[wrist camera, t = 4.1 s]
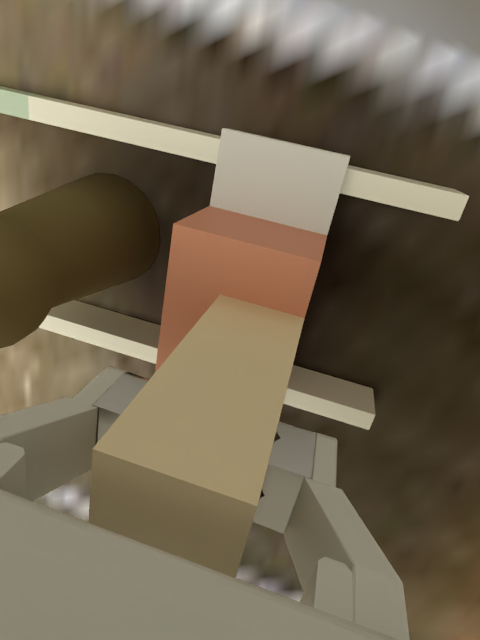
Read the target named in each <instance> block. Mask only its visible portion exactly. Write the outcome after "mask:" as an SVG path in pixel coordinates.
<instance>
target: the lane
mask: <svg viewBox="0 0 480 640" xmlns="http://www.w3.org/2000/svg"><path fill="white" fill-rule="evenodd" d="M0 113H3V114H7V115H12V116H16V117H20V118H24V119H28V120H33V121H37V122H41V123H45V124H50V125H54V126H58V127H62V128H66V129H71V130H75V131H79V132H83V133H88V134H92V135H96V136H100V137H104V138H109V139H113V140H117V141H121V142H126V143H130V144H134V145H138V146H143V147H147V148H151V149H155V150H159V151H164V152H168V153H172V154H176V155H181V156H185V157H189V158H193V159H197V160H202V161H206V162H210V163H214V164H216V163H217V157H218V151H219V144H220V138H221V136H219V135H214V134H210V133H205V132H201V131H197V130H192V129H188V128H183V127H179V126H175V125H170V124H166V123H161V122H157V121H153V120H148V119H144V118H139V117H135V116H131V115H126V114H122V113H117V112H113V111H109V110H104V109H100V108H95V107H91V106H87V105H82V104H78V103H73V102H69V101H64V100H60V99H56V98H51V97H47V96H42V95H38V94H34V93H29V92H25V91H20V90H16V89H12V88H7V87H3V86H0ZM340 193H341V194H345V195H349V196H354V197H358V198H362V199H366V200H371V201H375V202H379V203H383V204H388V205H392V206H396V207H400V208H404V209H409V210H413V211H417V212H421V213H426V214H430V215H434V216H438V217H442V218H447V219H451V220H455V221H459V219H460V217H461V215H462V212H463V210H464V208H465V205H466V203H467V201H468V198H469V196H468V195H466V194H464V193H462V192H460V191H458V190H456V189H452V188H448V187H443V186H439V185H435V184H430V183H426V182H421V181H417V180H413V179H408V178H404V177H399V176H395V175H391V174H386V173H382V172H377V171H373V170H368V169H364V168H360V167H355V166H351V165H348V166H347V170H346V173H345V177H344V180H343V183H342V187H341V190H340ZM160 327H161V325H157V324H154V323H151V322H147V321H144V320H140V319H137V318H134V317H130V316H127V315H124V314H120V313H117V312H113V311H110V310H107V309H103V308H100V307H97V306H93V305H90V304H87V303H83V302H80V301H76V300H73V301H70V302H67V303H64V304H62V305H59V306H56V307H53V308H51V310H50V312H49V313H48V315H47V317H46V318H45V320H44V321H43V322H42V324H41V325H40V326H39V328H42V329H45V330H48V331H51V332H55V333H58V334H61V335H64V336H68V337H71V338H74V339H77V340H80V341H84V342H87V343H90V344H93V345H97V346H100V347H103V348H106V349H109V350H113V351H116V352H119V353H122V354H126V355H129V356H132V357H135V358H138V359H142V360H145V361H148V362H151V363H155V364H156V360H157V352H158V343H159V335H160ZM283 404H287V405H290V406H293V407H296V408H299V409H303V410H306V411H309V412H312V413H316V414H319V415H322V416H325V417H328V418H332V419H335V420H338V421H341V422H345V423H348V424H351V425H354V426H357V427H361V428H364V429H367V430H369V429H370V426H371V424H372V422H373V419H374V417H375V405H374V394H373V388H370V387H366V386H363V385H359V384H356V383H353V382H349V381H346V380H343V379H339V378H336V377H332V376H329V375H326V374H322V373H319V372H316V371H312V370H309V369H306V368H302V367H299V366H295V365H293V366H292V370H291V374H290V378H289V382H288V386H287V390H286V394H285V398H284V402H283Z"/></svg>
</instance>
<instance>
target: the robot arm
mask: <svg viewBox="0 0 480 640" xmlns="http://www.w3.org/2000/svg"><path fill="white" fill-rule="evenodd" d="M149 380H150V379H147V378H144V377H141V376H138V375H136V374H133V373H130V372H126V371H123V370H120V369H117V368H114V367H111V366H110V367H106V368H105V369H104V370H102V371H101V372H100V373H99V374H98V375H97V376H96V377H95V378H94V379H93V380H92V381H91V382H90V383H88V384H87V385H86V386H85V387H84V388H83V389H82V390H81V391H80V392H79V393H78V394H77V395H76V396H74V397H73V398H72V399H71V398H68V397H65V398H62V399H58V400H54V401H51V402H47V403H43V404H40V405H36V406H32V407H29V408H25V409H22V410H18V411H14V412H11V413H7V414H3V415H0V640H410V639H409V631H408V622H407V614H406V605H405V597H404V588H403V583H402V581H401V580H400V578H399V576H398V575H397V573H396V572H395V570H394V569H393V567H392V566H391V564H390V563H389V561H388V560H387V558H386V557H385V555H384V553H383V552H382V550H381V549H380V547H379V546H378V544H377V543H376V541H375V540H374V538H373V537H372V535H371V533H370V532H369V530H368V529H367V527H366V526H365V524H364V523H363V521H362V520H361V518H360V517H359V515H358V514H357V512H356V510H355V509H354V507H353V506H352V504H351V503H350V501H349V500H348V498H347V497H346V495H345V494H344V492H343V490H342V489H339V488H336V470H337V442H338V441H337V439H336V438H333V437H330V436H326V435H323V434H320V433H314V432H311V431H308V430H304V429H301V428H298V427H295V426H292V425H289V424H285V423H282V422H278V426H277V430H276V434H275V438H274V442H273V446H272V450H271V454H270V458H269V462H268V466H267V470H266V474H265V478H264V482H263V486H262V490H261V494H260V498H259V502H258V506H257V509H256V512H255V516H254V519H253V522H255V523H257V524H260V525H262V526H265V527H268V528H270V529H273V530H275V531H278V532H280V533H283V534H284V538H285V541H286V544H287V547H288V550H289V552H290V555H291V558H292V561H293V564H294V567H295V569H296V572H297V575H298V578H299V581H300V584H301V586H302V589H303V592H304V593H303V596H302V598H301V600H300V602H297V601H295V600H292V599H290V598H287V597H284V596H282V595H279V594H276V593H274V592H271V591H268V590H266V589H263V588H261V587H258V586H255V585H253V584H250V583H247V582H245V581H242V580H239V579H237V578H234V577H231V576H229V575H226V574H224V573H221V572H218V571H216V570H213V569H210V568H208V567H205V566H202V565H200V564H197V563H194V562H192V561H189V560H187V559H184V558H181V557H179V556H176V555H173V554H171V553H168V552H165V551H163V550H160V549H157V548H155V547H152V546H149V545H147V544H144V543H142V542H139V541H136V540H134V539H131V538H128V537H126V536H123V535H120V534H118V533H115V532H112V531H110V530H107V529H104V528H102V527H99V526H96V525H94V524H91V523H88V522H86V521H83V520H81V519H78V518H75V517H73V516H70V515H67V514H65V513H62V512H59V511H57V510H54V509H51V508H49V507H46V506H43V505H41V504H38V503H35V502H33V501H34V500H36V499H37V498H39V497H41V496H43V495H45V494H47V493H49V492H50V491H52V490H54V489H56V488H58V487H60V486H62V485H64V484H65V483H67V482H69V481H71V480H73V479H75V478H77V477H78V476H80V475H82V474H84V473H86V472H88V471H90V470H91V466H92V449H93V447H94V446H95V445H96V444H97V443H98V441H99V440H100V439H101V438H102V437H103V435H104V434H105V433H106V432H107V430H108V429H109V428H110V427H111V426H112V424H113V423H114V422H115V421H116V420H117V418H118V417H119V416H120V415H121V414H122V412H123V411H124V410H125V409H126V408H127V406H128V405H129V404H130V403H131V401H132V400H133V399H134V398H135V397H136V395H137V394H138V393H139V392H140V391H141V389H142V388H143V387H144V386H145V385H146V383H147V382H148V381H149Z"/></svg>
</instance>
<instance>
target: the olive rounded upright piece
mask: <svg viewBox="0 0 480 640" xmlns="http://www.w3.org/2000/svg"><path fill="white" fill-rule="evenodd" d="M159 245H160V233H159V224H158V221H157V218H156V215H155V212H154V209H153V207H152V206H151V204H150V203H149V201H148V200H147V198H146V197H145V195H144V194H143V193H142V192H141V191H140V190H139V189H138V188H137V187H136V186H134V185H133V184H132V183H131V182H130V181H128V180H126V179H123V178H121V177H119V176H117V175H114V174H105V173H95V174H92V175H89V176H86V177H83V178H80V179H78V180H75V181H73V182H71V183H68V184H66V185H63V186H61V187H59V188H56V189H54V190H51V191H49V192H47V193H44V194H42V195H39V196H37V197H35V198H32V199H30V200H27V201H25V202H23V203H20V204H18V205H15V206H13V207H10V208H8V209H6V210H3V211H1V212H0V348H3V347H7V346H11V345H14V344H15V343H17V342H18V341H20V340H21V339H23V338H24V337H26V336H27V335H29V334H30V333H32V332H33V331H35V330H36V329H37V328H38V327H39V326H40V325H41V324H42V322H43V321H44V320H45V318H46V317H47V315H48V313H49V312H50V310H51V308H53V307H56V306H59V305H62V304H64V303H67V302H70V301H73V300H76V299H78V298H81V297H84V296H87V295H90V294H92V293H95V292H98V291H101V290H104V289H106V288H109V287H112V286H115V285H118V284H120V283H123V282H126V281H129V280H132V279H134V278H136V277H138V276H139V275H141V274H142V273H144V272H146V271H147V270H148V268H149V267H150V266H151V264H152V263H153V261H154V260H155V259H156V255H157V252H158V248H159Z"/></svg>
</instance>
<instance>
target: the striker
mask: <svg viewBox="0 0 480 640" xmlns="http://www.w3.org/2000/svg"><path fill="white" fill-rule="evenodd" d="M349 160H350V156H349V155H345V154H340V153H336V152H331V151H327V150H322V149H318V148H314V147H309V146H305V145H300V144H296V143H291V142H287V141H282V140H278V139H273V138H269V137H264V136H260V135H255V134H251V133H247V132H242V131H238V130H233V129H228V128H222V132H221V138H220V144H219V151H218V157H217V163H216V169H215V176H214V182H213V188H212V194H211V201H210V206H208V207H206V208H204V209H202V210H200V211H198V212H196V213H194V214H192V215H190V216H188V217H186V218H184V219H182V220H180V221H178V222H175V223H173V230H172V238H171V246H170V254H169V263H168V271H167V279H166V287H165V295H164V303H163V311H162V319H161V327H160V335H159V343H158V352H157V360H156V368H155V374H154V375H153V376H152V377H151V379H150V380H149V381H148V382H147V383H146V385H145V386H144V387H143V388H142V389H141V391H140V392H139V393H138V394H137V395H136V397H135V398H134V399H133V400H132V401H131V403H130V404H129V405H128V406H127V408H126V409H125V410H124V411H123V412H122V414H121V415H120V416H119V417H118V418H117V420H116V421H115V422H114V423H113V424H112V426H111V427H110V428H109V429H108V430H107V432H106V433H105V434H104V435H103V437H102V438H101V439H100V440H99V441H98V443H97V444H96V445H95V446H94V447H93V449H92V466H91V487H90V508H89V523H91V524H94V525H96V526H99V527H102V528H104V529H107V530H110V531H112V532H115V533H118V534H120V535H123V536H126V537H128V538H131V539H134V540H136V541H139V542H142V543H144V544H147V545H149V546H152V547H155V548H157V549H160V550H163V551H165V552H168V553H171V554H173V555H176V556H179V557H181V558H184V559H187V560H189V561H192V562H194V563H197V564H200V565H202V566H205V567H208V568H210V569H213V570H216V571H218V572H221V573H224V574H226V575H229V576H231V577H234V578H235V577H236V574H237V571H238V568H239V564H240V561H241V558H242V555H243V551H244V548H245V545H246V542H247V538H248V535H249V532H250V529H251V525H252V522H253V519H254V516H255V512H256V509H257V506H258V502H259V498H260V494H261V490H262V486H263V482H264V478H265V474H266V470H267V466H268V462H269V458H270V454H271V450H272V446H273V442H274V438H275V434H276V430H277V426H278V422H279V418H280V414H281V410H282V406H283V402H284V398H285V394H286V390H287V386H288V382H289V378H290V374H291V370H292V366H293V362H294V358H295V354H296V350H297V346H298V342H299V338H300V334H301V330H302V326H303V322H304V318H305V315H306V312H307V308H308V305H309V301H310V298H311V295H312V291H313V288H314V284H315V281H316V278H317V274H318V271H319V268H320V264H321V260H322V256H323V252H324V247H325V243H326V239H327V235H328V231H329V228H330V224H331V221H332V218H333V214H334V211H335V207H336V204H337V201H338V197H339V194H340V190H341V187H342V183H343V180H344V177H345V173H346V170H347V166H348V163H349Z"/></svg>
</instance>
